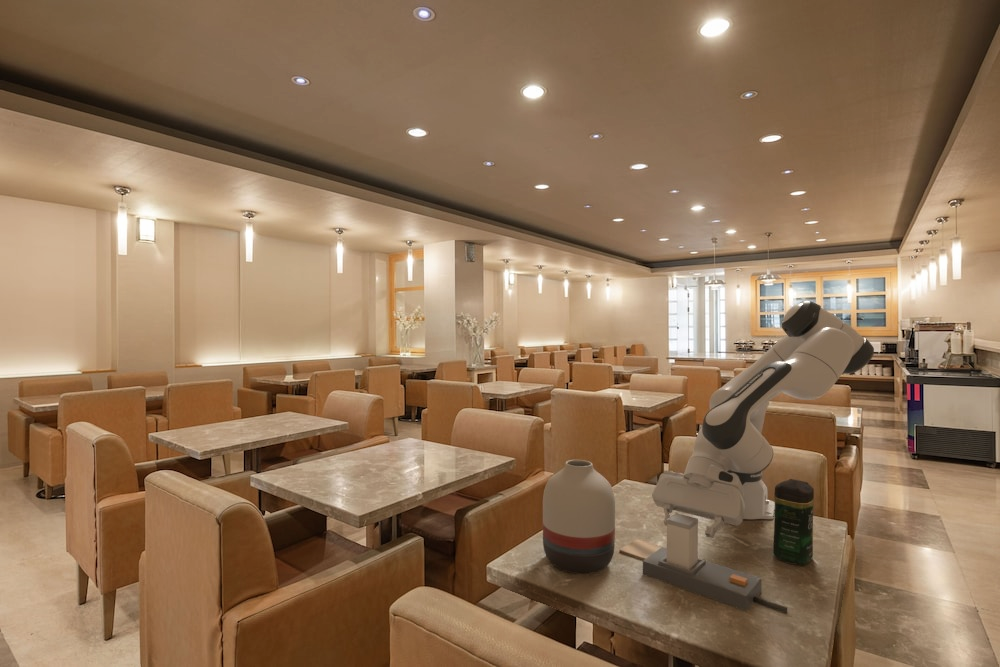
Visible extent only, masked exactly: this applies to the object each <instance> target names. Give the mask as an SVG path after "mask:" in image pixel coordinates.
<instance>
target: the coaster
mask: <svg viewBox="0 0 1000 667" xmlns="http://www.w3.org/2000/svg"><path fill="white" fill-rule="evenodd" d="M662 547H663V548H665V547H664V546H661V545H658V544H654V543H651V542H649V541H645V540H642V539H638V538H636V539H634V540H633V541H631V542H630V543H627V544H626V545H624V546H622V547H621V548H619V553H620V554H624V555H626V556H629V557H633V558H635V559H638V560H641V561H643V560H645V559H646V558H648V557H649V556H650V555H652V554H653V553H655V552H656V551H657V550H659V549H660V548H662Z"/></svg>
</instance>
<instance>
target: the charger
mask: <svg viewBox="0 0 1000 667" xmlns="http://www.w3.org/2000/svg"><path fill="white" fill-rule="evenodd" d="M698 539H699V518H697V517H693V516H688V515H685V514H680V513H677V512H676V513H674V514H673V515H670V517H669V518H668V519H667V526H666V548H667V563H670V564H673V565H676V566H679V567H682V568H685V569H688V570H690V569H691V568H693V567H694V566H695V565H696V564H697V563H698V558H699V557H698V556H699V555H698V554H699V553H698V551H699V550H698V549H699V548H698V547H699V543H698V542H699V540H698Z"/></svg>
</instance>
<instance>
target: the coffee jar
mask: <svg viewBox="0 0 1000 667" xmlns="http://www.w3.org/2000/svg"><path fill="white" fill-rule="evenodd" d="M814 491H815V489H814V487H813V486H812V485H811V484H810V483H809V482H807V481H803V480H798V479H793V478H790V479H788V480H784V481H781V482H779V483H778V484H776V485H775V486H774V496H773V498H774V502H775V511H774V517H773V519H774V521H773V526H774V527H773V544H772V545H773V547H772V553H773V556H774V557H775V558H777V559H778V560H781V561H782V562H784V563H787V564H791V565H800V566H805V565H807V564H808V563H810V562H811V560H812V559H813V557H814V556H813V555H814V538H813V537H814V528H813V527H814V507H815V506H814V504H815V497H814V496H815V494H814V493H815V492H814Z"/></svg>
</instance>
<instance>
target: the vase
mask: <svg viewBox="0 0 1000 667" xmlns="http://www.w3.org/2000/svg"><path fill="white" fill-rule="evenodd" d="M542 496H543V498H542V544H543V551H544V553H545V556H546V558H547V561H549V563H550V564H552V565H553V566H554V567H556V568H557V569H559V570H562V571H565V572H567V573H572V574H581V575H582V574H583V575H585V574H594V573H597V572H600V571H602V570H604V569H605V568H606V567H608V566H609V564H610V563H611V561H612V559H613V556H614V553H615V545H616V544H615V543H616V542H615V540H616V499H615V498H616V497H615V493H614V490H613V487H612V485H611V483H610V482H609V481H608V480H607V479H606V478H605V476H603V475H602V474H601V473H599V472H598V471H597V470H596V469H595V468H594V465H593V463H592V462H591V461H589V460H584V459H571V460H570V459H569V460H566V462H565V464H564V467H563V468H562V469H560V470H558V471H557V472H556V473H554V474H553V475H552V476H551V477H550V478H549V479H548V481H547V482H546V484H545V487H544V490H543V495H542Z"/></svg>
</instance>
